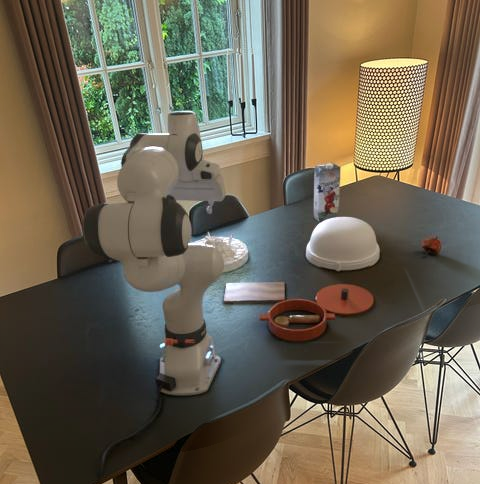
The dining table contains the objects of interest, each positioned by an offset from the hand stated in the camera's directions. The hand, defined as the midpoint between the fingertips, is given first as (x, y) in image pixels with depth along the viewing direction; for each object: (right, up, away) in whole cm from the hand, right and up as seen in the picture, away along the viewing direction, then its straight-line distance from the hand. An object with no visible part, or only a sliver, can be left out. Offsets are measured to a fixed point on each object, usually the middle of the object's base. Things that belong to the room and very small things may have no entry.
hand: (194, 212), depth 152 cm
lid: (+51, -26, +24) cm, 62 cm away
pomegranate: (+91, -6, +50) cm, 104 cm away
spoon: (+34, -34, +14) cm, 50 cm away
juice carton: (+55, +15, +86) cm, 103 cm away
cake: (+4, -7, +59) cm, 59 cm away
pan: (+33, -35, +13) cm, 50 cm away
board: (+20, -23, +32) cm, 44 cm away
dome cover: (+56, -6, +55) cm, 79 cm away
